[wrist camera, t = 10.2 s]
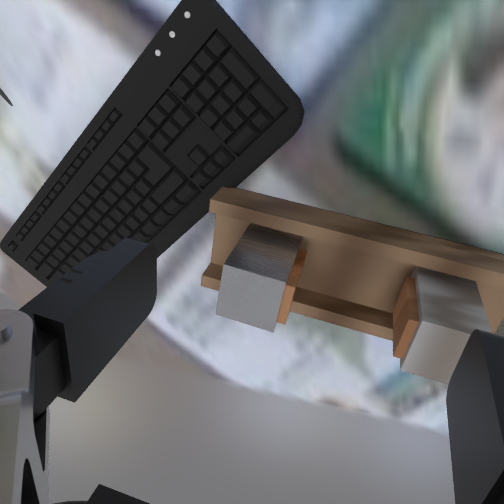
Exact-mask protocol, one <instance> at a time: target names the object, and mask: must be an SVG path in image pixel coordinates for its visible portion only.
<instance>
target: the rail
mask: <svg viewBox="0 0 504 504" xmlns="http://www.w3.org/2000/svg"><path fill="white" fill-rule="evenodd" d="M209 212H211V213H215V214H216V223H215V231H214V239H213V248H212V256H211V263H210V264H209V266H208V267H207V269H206V270H205V272H204V273H203V274H202V279H201V286H204V287H207V288H211V289H214V290H218V291H219V289H220V283H221V277H222V271H223V264H224V263H225V261H226V260H227V258H228V257H229V255H230V253H231V252H232V250H233V249H234V247H235V246H236V244H237V243H238V241H239V239H240V238H241V236H242V235H243V233H244V232H245V230H246V229H247V227H248V226H249V224H250V223H253V224H257V225H261V226H265V227H269V228H273V229H276V230H280V231H284V232H288V233H292V234H296V235H300V236H303V241H302V245H301V249H305V250H308V251H307V255H306V259H305V262H304V266H303V270H302V273H301V277H300V281H299V284H298V288H297V291H296V294H295V297H294V300H293V303H292V306H291V309H290V311H291V312H294V313H298V314H301V315H305V316H308V317H312V318H315V319H319V320H322V321H325V322H329V323H332V324H336V325H339V326H343V327H346V328H350V329H353V330H357V331H360V332H364V333H367V334H371V335H374V336H378V337H381V338H385V339H388V340H392V341H393V356H394V357H398V358H400V370H401V371H405V372H408V373H412V374H415V375H418V376H422V377H425V378H428V379H432V380H435V381H439V382H442V383H445V384H449V381H450V378H451V376H452V374H453V371H454V369H455V367H456V365H457V363H458V361H459V359H460V356H461V354H462V352H463V350H464V348H465V346H466V343H467V341H468V339H469V337H470V335H471V333H472V332H473V331H474V330H475V329H479V330H482V331H486V332H490V333H494V334H495V332H496V330H497V328H498V327H499V325H500V323H501V321H502V319H503V318H504V254H500V253H496V252H492V251H488V250H484V249H480V248H476V247H472V246H468V245H464V244H460V243H456V242H452V241H448V240H444V239H440V238H436V237H432V236H428V235H424V234H420V233H416V232H412V231H408V230H404V229H400V228H396V227H391V226H387V225H383V224H379V223H375V222H371V221H367V220H363V219H359V218H355V217H351V216H347V215H343V214H339V213H335V212H331V211H327V210H323V209H319V208H315V207H311V206H307V205H303V204H299V203H295V202H291V201H287V200H283V199H279V198H275V197H271V196H267V195H263V194H259V193H255V192H251V191H247V190H243V189H239V188H226V187H221V188H220V189H219V190H218V192H217V193H216V194H215V195H214V196H213V197H212V198H211V199H210V207H209Z"/></svg>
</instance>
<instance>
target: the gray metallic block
mask: <svg viewBox="0 0 504 504" xmlns="http://www.w3.org/2000/svg"><path fill="white" fill-rule="evenodd" d="M302 241H303V236H300V235H296V234H292V233H288V232H284V231H280V230H276V229H273V228H269V227H265V226H261V225H257V224H253V223H250V224H249V226H248V227H247V229H246V230H245V232H244V233H243V235H242V236H241V238H240V239H239V241H238V243H237V244H236V246H235V247H234V249H233V250H232V252H231V253H230V255H229V257H228V258H227V260H226V261H225V263H224V264H223V271H222V277H221V283H220V289H219V296H218V302H217V308H216V315H220V316H223V317H226V318H229V319H232V320H236V321H239V322H242V323H245V324H248V325H252V326H255V327H258V328H261V329H264V330H268V331H271V332H274V329H275V326H276V323H277V322H279V323H282V324H286V321H287V318H288V315H289V312H290V309H291V306H292V303H293V300H294V297H295V294H296V291H297V288H298V284H299V281H300V277H301V273H302V270H303V266H304V262H305V259H306V255H307V251H308V250H305V249H301V245H302Z"/></svg>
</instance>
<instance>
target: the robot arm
mask: <svg viewBox="0 0 504 504" xmlns="http://www.w3.org/2000/svg"><path fill="white" fill-rule="evenodd" d="M156 295H157V253H156V248H155V246H154V245H153V244H150V243H146V242H142V241H138V240H134V239H130V238H125V239H123V240H122V241H121V242H119V243H118V244H117V245H116V246H114V247H113V248H112V249H111V250H110V251H108V252H107V251H101V252H99V253H96V254H94V255H91V256H89V257H86V258H84V259H83V260H82V261H81V262H79V263H78V264H77V265H75V266H74V267H73V268H72V269H71V271H68V272H66V273H65V274H64V275H63V276H61V277H60V280H56V281H55V282H54V283H52V284H51V285H50V286H49V287H47V288H46V289H45V290H43V291H42V292H41V293H40V294H38V295H37V296H36V297H34V298H33V299H32V300H31V301H29V302H28V303H27V304H26V305H24V306H23V307H22V308H20V309H19V310H9V309H5V310H0V504H50V500H49V486H48V474H49V423H50V413H49V405H50V404H51V402H53V400H54V399H55V398H56V397H57V396H58V397H61V398H63V399H67V400H69V401H72V402H76V401H77V399H78V398H79V397H80V396H81V395H82V394H83V392H84V391H85V390H86V389H87V388H88V386H89V385H90V384H91V383H92V382H93V380H94V379H95V378H96V377H97V376H98V375H99V373H100V372H101V371H102V370H103V369H104V367H105V366H106V365H107V364H108V363H109V361H110V360H111V359H112V358H113V357H114V356H115V354H116V353H117V352H118V351H119V350H120V348H121V347H122V346H123V345H124V344H125V342H126V341H127V340H128V339H129V338H130V337H131V335H132V334H133V333H134V332H135V331H136V329H137V328H138V327H139V326H140V325H141V323H142V322H143V321H144V320H145V319H146V318H147V316H148V315H149V314H150V312H151V310H152V308H153V306H154V303H155V300H156ZM446 404H447V416H448V427H449V438H450V449H451V460H452V470H453V481H454V493H455V503H456V504H504V336H502V335H498V334H494V333H490V332H486V331H482V330H479V329H475V330H474V331H473V332H472V333H471V335H470V337H469V339H468V341H467V343H466V346H465V348H464V350H463V352H462V354H461V356H460V359H459V361H458V363H457V365H456V367H455V369H454V371H453V374H452V376H451V378H450V381H449V385H448V390H447V398H446ZM55 504H149V503H147V502H144V501H142V500H139V499H136V498H134V497H131V496H129V495H126V494H124V493H121V492H118V491H116V490H113V489H111V488H108V487H106V486H103V485H100V484H99V485H98V486H97V488H96V489H95V491H94V492H93V494H92V496H91V497H90V499H89V500H88V501H67V502H61V503H55Z"/></svg>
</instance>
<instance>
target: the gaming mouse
mask: <svg viewBox="0 0 504 504" xmlns="http://www.w3.org/2000/svg"><path fill="white" fill-rule="evenodd" d="M0 95H1V96H2V97H3V98H4V99H5V100H6V101H7V102H8V103H9V104H10V105H11V106H13V105H12V103H11V101H10V100H9V99H8V97H7V96H6V95H5V94H4V92H3V91H2V90H1V88H0Z"/></svg>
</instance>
